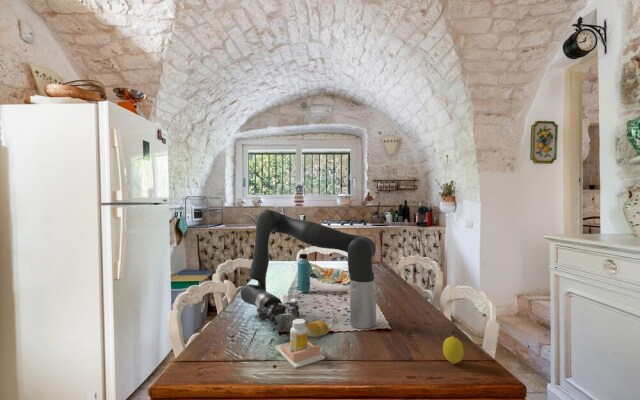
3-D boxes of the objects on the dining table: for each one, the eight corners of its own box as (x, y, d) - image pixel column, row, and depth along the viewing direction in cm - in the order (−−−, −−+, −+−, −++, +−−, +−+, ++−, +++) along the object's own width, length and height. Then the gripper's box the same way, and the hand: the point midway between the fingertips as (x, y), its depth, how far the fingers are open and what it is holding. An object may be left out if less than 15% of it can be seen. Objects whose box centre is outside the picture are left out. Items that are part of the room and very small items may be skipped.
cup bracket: (274, 347, 103) (274, 338, 103) (301, 340, 108) (301, 331, 108) (295, 368, 90) (295, 357, 90) (324, 358, 95) (324, 348, 95)
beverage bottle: (308, 294, 160) (308, 255, 160) (296, 294, 161) (295, 254, 161) (311, 290, 166) (311, 253, 166) (299, 290, 168) (298, 252, 168)
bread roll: (332, 333, 114) (332, 322, 114) (311, 339, 109) (311, 328, 109) (319, 326, 121) (319, 315, 121) (299, 331, 116) (299, 320, 116)
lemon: (439, 359, 94) (439, 332, 94) (457, 358, 95) (457, 331, 95) (448, 369, 89) (448, 341, 89) (467, 368, 89) (467, 340, 89)
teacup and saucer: (298, 302, 149) (298, 294, 149) (287, 307, 142) (287, 298, 142) (283, 299, 154) (283, 291, 154) (272, 304, 147) (272, 295, 147)
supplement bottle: (287, 353, 98) (286, 322, 98) (295, 346, 103) (295, 316, 102) (302, 357, 95) (302, 325, 95) (310, 349, 100) (310, 319, 100)
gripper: (250, 297, 117) (266, 310, 103) (285, 291, 124) (305, 302, 110) (250, 317, 117) (266, 333, 103) (285, 310, 124) (305, 324, 110)
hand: (286, 317), depth 107 cm, fingers open, 8 cm apart
